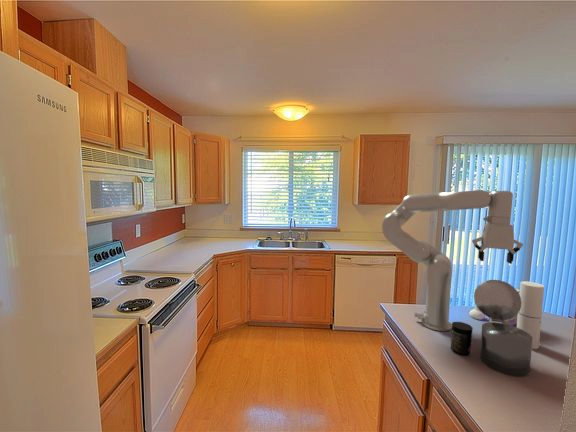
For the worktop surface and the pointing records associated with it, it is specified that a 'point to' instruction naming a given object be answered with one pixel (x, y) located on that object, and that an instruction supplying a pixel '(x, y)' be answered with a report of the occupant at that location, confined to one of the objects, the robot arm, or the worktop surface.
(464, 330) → the supplement container
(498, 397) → the worktop surface
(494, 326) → the dark grey rounded block
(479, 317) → the garlic bulb
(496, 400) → the worktop surface
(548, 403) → the worktop surface
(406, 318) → the worktop surface
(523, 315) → the cylindrical container
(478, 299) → the round plate
